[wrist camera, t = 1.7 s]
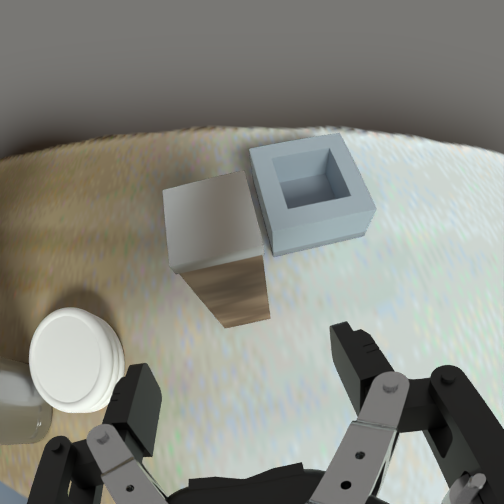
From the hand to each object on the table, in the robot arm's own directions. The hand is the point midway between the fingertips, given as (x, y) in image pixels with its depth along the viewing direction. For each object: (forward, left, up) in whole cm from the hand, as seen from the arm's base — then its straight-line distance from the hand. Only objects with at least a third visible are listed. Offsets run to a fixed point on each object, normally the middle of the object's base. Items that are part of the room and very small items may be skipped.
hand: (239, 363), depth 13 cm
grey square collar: (0, +17, -14) cm, 22 cm away
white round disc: (-16, -5, -14) cm, 22 cm away
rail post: (-3, +6, -14) cm, 15 cm away
